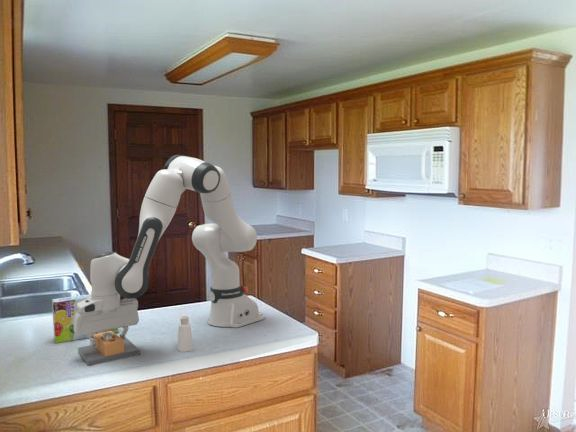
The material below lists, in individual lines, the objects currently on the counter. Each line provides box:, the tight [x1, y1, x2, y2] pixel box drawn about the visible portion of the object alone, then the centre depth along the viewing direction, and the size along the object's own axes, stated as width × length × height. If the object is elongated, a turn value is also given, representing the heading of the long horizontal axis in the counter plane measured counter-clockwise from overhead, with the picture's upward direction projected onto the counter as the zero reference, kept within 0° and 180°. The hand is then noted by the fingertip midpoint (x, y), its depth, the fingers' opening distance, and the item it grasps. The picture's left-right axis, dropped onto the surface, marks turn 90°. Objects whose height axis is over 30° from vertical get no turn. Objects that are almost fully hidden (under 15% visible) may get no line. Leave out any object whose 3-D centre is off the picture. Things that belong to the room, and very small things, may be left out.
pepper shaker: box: [176, 315, 194, 353], centre depth 164 cm, size 5×5×11 cm
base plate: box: [77, 337, 140, 366], centre depth 162 cm, size 16×14×2 cm
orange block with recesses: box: [92, 331, 124, 357], centre depth 161 cm, size 12×6×4 cm, turn 38°
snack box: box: [51, 293, 119, 344], centre depth 178 cm, size 21×6×15 cm, turn 119°
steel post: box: [103, 332, 113, 340], centre depth 161 cm, size 3×3×6 cm
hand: (108, 342), depth 161 cm, fingers open, 8 cm apart
